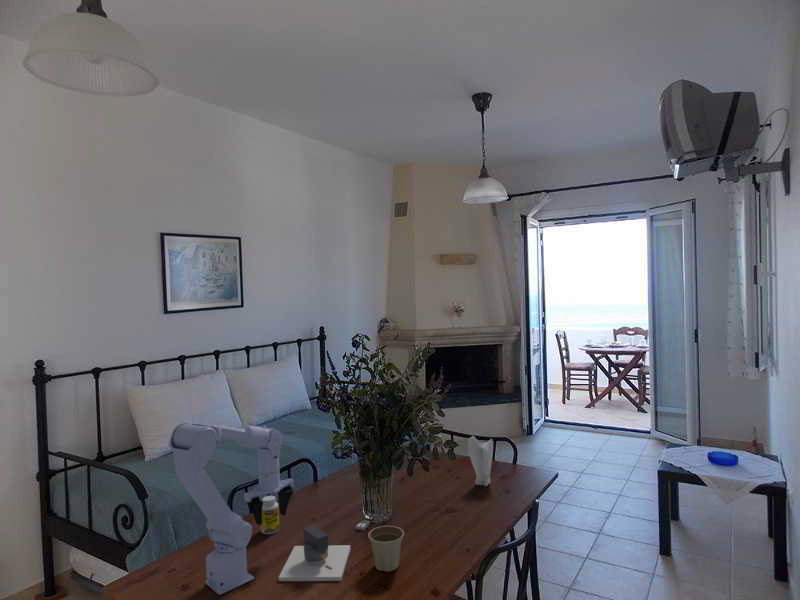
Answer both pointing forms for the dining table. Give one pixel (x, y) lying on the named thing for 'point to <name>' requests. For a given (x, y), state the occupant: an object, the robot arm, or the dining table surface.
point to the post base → (316, 565)
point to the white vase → (481, 459)
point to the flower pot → (386, 547)
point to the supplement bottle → (270, 515)
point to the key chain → (362, 525)
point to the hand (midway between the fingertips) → (271, 518)
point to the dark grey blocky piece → (315, 544)
